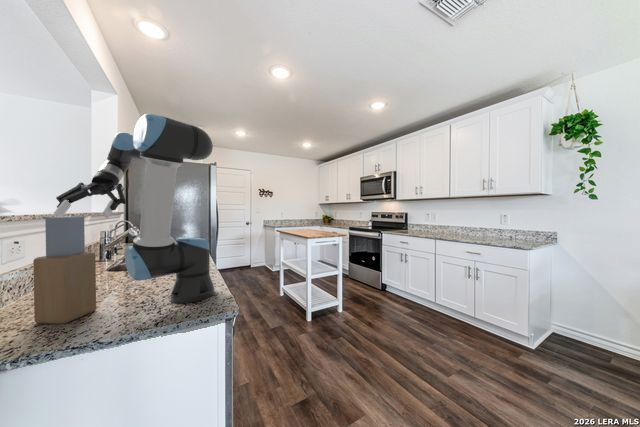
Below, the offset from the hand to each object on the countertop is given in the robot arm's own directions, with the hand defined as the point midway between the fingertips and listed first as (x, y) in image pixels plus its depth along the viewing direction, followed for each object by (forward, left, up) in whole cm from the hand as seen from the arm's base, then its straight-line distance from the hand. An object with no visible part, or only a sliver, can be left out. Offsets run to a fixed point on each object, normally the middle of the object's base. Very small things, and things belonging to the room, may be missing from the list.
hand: (81, 215), depth 81 cm
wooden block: (0, +7, -32) cm, 33 cm away
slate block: (0, +7, -12) cm, 14 cm away
